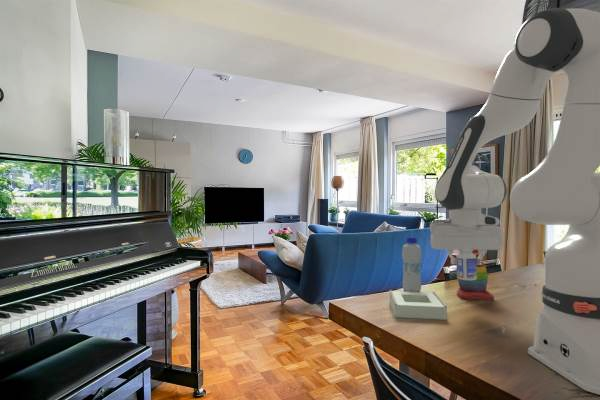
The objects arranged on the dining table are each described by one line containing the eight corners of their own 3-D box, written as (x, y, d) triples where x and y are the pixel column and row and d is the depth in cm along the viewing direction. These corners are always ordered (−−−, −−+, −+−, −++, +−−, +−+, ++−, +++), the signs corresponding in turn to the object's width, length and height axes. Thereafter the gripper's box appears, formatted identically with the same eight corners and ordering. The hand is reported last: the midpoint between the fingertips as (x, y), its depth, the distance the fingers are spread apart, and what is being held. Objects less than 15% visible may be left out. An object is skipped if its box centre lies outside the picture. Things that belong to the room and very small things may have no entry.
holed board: (447, 319, 92) (447, 306, 92) (395, 317, 94) (395, 303, 94) (434, 303, 106) (434, 291, 106) (389, 301, 108) (389, 290, 108)
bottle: (407, 288, 123) (407, 235, 123) (425, 292, 118) (424, 236, 118) (398, 292, 118) (398, 236, 118) (416, 296, 114) (416, 238, 114)
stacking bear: (461, 299, 110) (461, 246, 110) (451, 291, 120) (451, 242, 120) (496, 300, 109) (496, 246, 108) (482, 292, 119) (482, 242, 119)
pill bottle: (477, 278, 101) (476, 246, 102) (475, 281, 97) (475, 248, 97) (458, 276, 104) (457, 245, 105) (455, 279, 100) (454, 247, 100)
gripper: (431, 219, 100) (432, 265, 99) (505, 219, 96) (506, 266, 96) (427, 218, 106) (428, 262, 106) (496, 218, 103) (497, 263, 102)
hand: (466, 264), depth 101 cm, fingers closed on pill bottle, 5 cm apart
